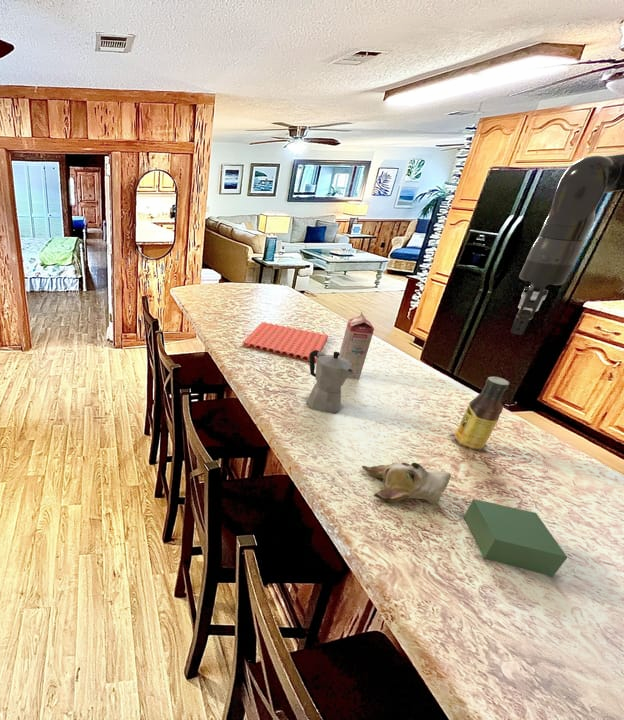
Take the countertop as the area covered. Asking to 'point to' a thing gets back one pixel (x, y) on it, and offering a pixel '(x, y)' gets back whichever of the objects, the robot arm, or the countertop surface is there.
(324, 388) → the coffeepot
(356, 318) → the juice carton
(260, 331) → the red corrugated roof tile
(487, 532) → the green block
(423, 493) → the ceramic sculpture
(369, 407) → the countertop surface
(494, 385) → the sauce bottle
